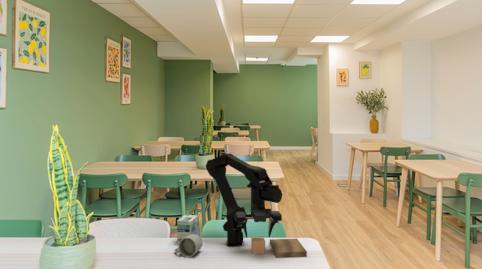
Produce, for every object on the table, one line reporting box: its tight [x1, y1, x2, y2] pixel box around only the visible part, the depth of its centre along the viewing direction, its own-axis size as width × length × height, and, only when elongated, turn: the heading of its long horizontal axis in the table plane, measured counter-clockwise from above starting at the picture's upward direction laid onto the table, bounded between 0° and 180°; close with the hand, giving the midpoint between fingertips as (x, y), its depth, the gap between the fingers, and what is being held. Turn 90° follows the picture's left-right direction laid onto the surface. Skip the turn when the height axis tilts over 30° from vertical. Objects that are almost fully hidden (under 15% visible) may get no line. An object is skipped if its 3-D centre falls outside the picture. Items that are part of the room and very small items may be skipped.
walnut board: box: [269, 238, 308, 259], centre depth 150 cm, size 12×16×2 cm
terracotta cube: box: [250, 236, 266, 254], centre depth 149 cm, size 5×5×5 cm
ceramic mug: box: [174, 234, 204, 258], centre depth 147 cm, size 11×8×8 cm
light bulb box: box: [176, 214, 200, 246], centre depth 161 cm, size 11×7×11 cm, turn 168°
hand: (257, 237), depth 149 cm, fingers open, 9 cm apart
